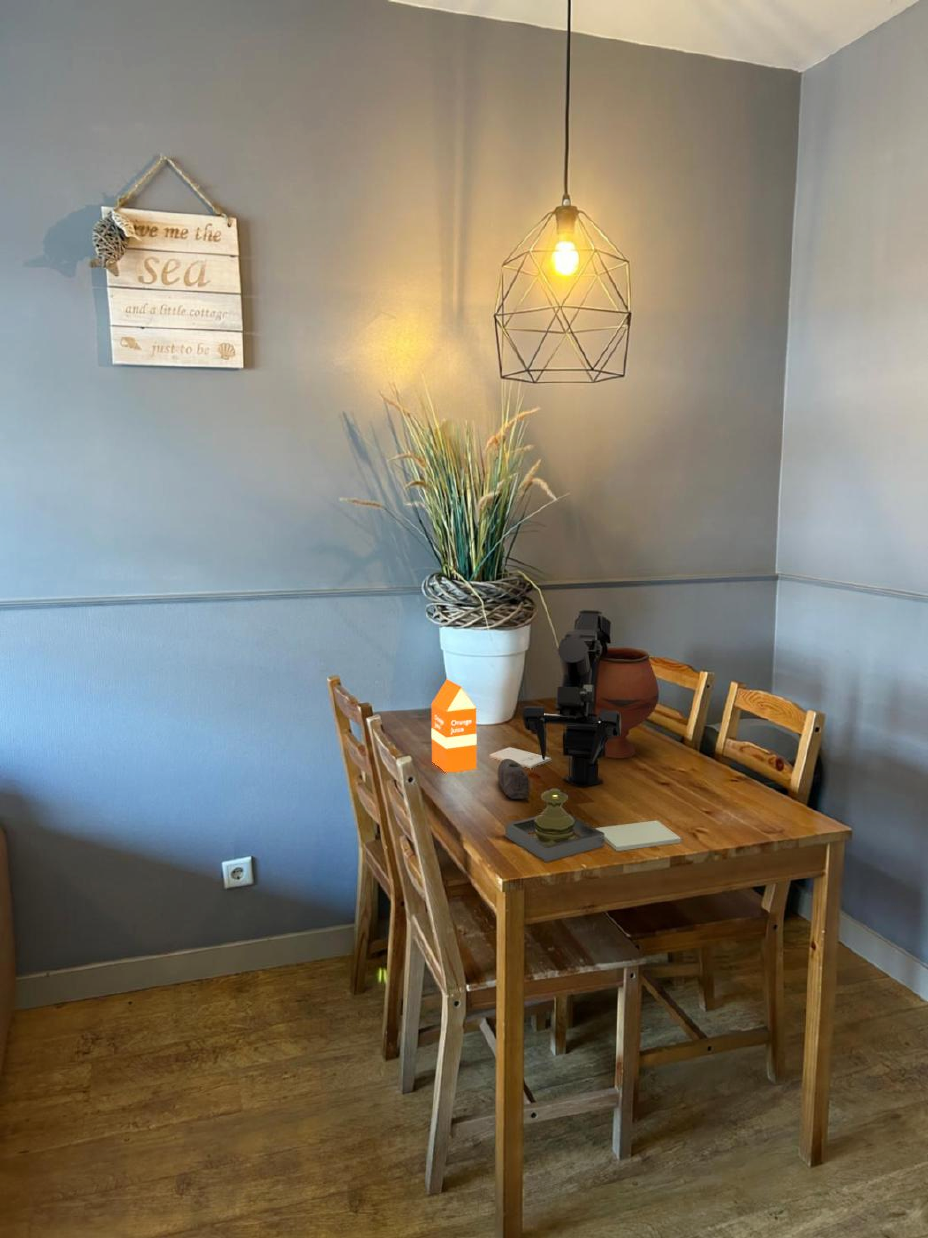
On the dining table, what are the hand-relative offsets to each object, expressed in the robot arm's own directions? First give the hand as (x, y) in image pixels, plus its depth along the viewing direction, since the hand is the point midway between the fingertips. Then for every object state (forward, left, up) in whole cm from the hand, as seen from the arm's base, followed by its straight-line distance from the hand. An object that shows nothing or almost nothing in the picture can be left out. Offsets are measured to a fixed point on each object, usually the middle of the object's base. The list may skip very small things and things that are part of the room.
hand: (567, 760), depth 167 cm
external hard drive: (-39, +16, -14) cm, 44 cm away
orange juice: (-43, 0, -14) cm, 45 cm away
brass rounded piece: (+4, -6, -14) cm, 15 cm away
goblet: (-31, +39, -14) cm, 51 cm away
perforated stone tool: (-22, +2, -14) cm, 26 cm away
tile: (+11, +8, -13) cm, 19 cm away
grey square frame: (+4, -6, -13) cm, 15 cm away
